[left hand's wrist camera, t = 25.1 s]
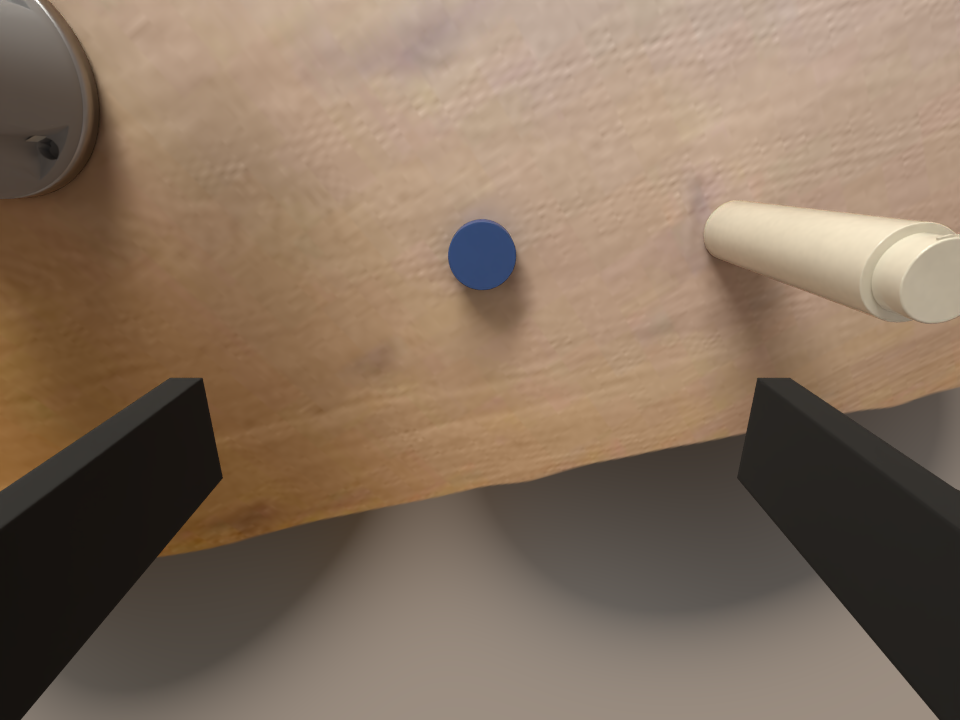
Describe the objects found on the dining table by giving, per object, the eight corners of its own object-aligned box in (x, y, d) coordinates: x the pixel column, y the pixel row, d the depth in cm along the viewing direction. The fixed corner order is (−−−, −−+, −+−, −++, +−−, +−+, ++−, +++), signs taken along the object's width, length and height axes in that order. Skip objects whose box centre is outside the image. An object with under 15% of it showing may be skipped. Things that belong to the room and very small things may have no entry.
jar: (765, 252, 40) (999, 319, 22) (706, 267, 41) (888, 345, 23) (761, 193, 39) (1008, 213, 21) (700, 209, 39) (890, 242, 21)
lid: (474, 205, 39) (473, 207, 37) (527, 244, 40) (529, 248, 38) (437, 260, 41) (435, 264, 39) (489, 296, 42) (490, 302, 40)
